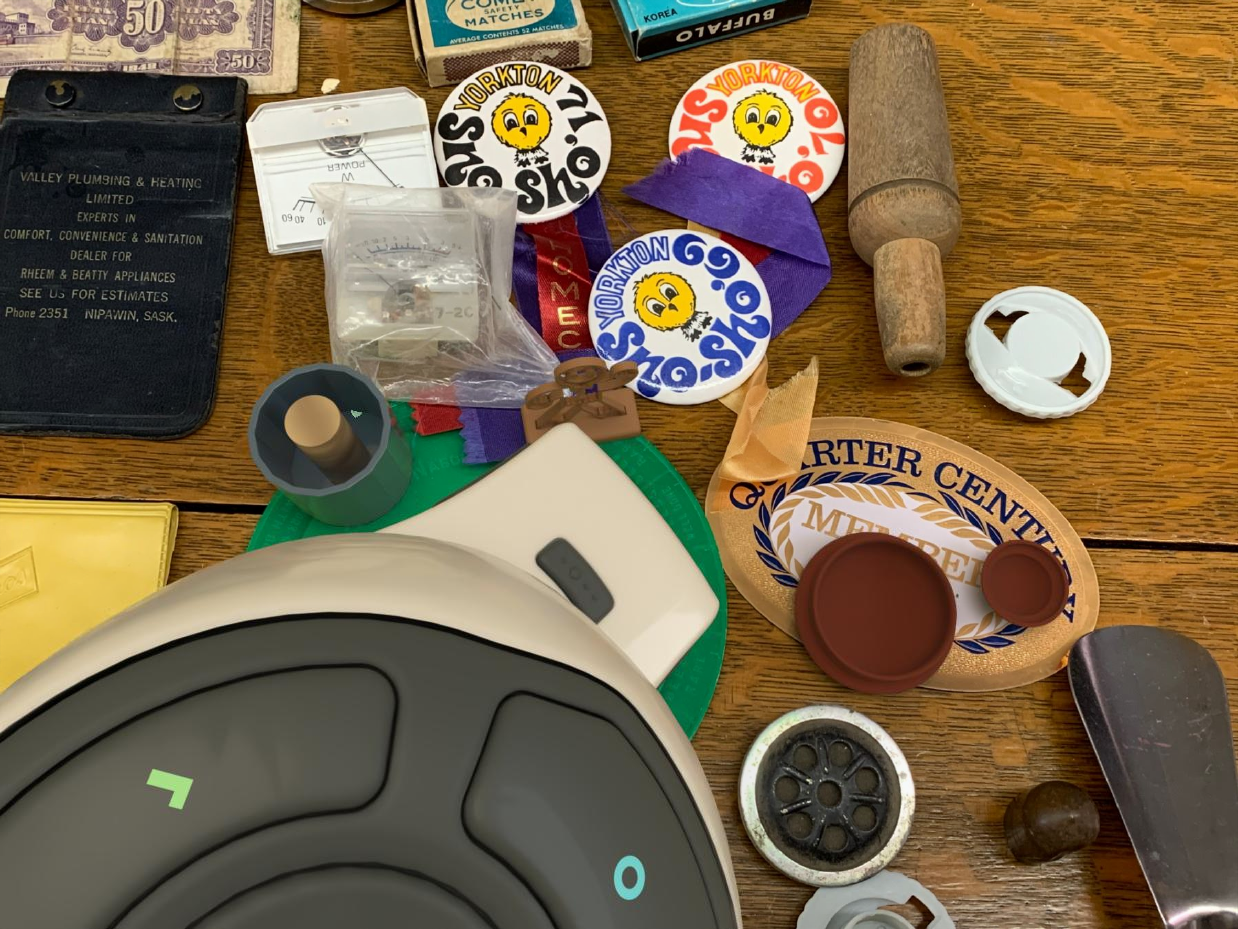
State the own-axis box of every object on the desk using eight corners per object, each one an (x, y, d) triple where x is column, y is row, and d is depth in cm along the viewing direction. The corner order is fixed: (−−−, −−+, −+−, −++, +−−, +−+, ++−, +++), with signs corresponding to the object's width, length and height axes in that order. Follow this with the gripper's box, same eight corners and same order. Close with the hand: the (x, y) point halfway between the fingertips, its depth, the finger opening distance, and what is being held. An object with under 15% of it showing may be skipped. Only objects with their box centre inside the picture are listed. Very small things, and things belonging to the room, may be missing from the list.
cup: (333, 551, 71) (298, 523, 62) (263, 456, 73) (220, 416, 64) (437, 476, 73) (417, 439, 64) (366, 385, 74) (338, 337, 66)
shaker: (341, 496, 71) (304, 457, 62) (314, 460, 72) (273, 416, 62) (381, 468, 72) (350, 424, 62) (354, 432, 73) (320, 384, 63)
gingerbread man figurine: (528, 455, 73) (517, 399, 62) (520, 408, 74) (508, 345, 63) (641, 436, 74) (652, 377, 63) (632, 389, 75) (640, 324, 64)
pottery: (773, 551, 72) (784, 539, 68) (1024, 508, 73) (1051, 493, 69) (809, 709, 69) (824, 707, 64) (1071, 660, 70) (1102, 654, 66)
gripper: (65, 1216, 19) (201, 960, 33) (769, 568, 25) (639, 575, 38) (-141, 984, 19) (81, 821, 33) (615, 378, 24) (539, 452, 38)
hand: (385, 685), depth 35 cm, fingers open, 8 cm apart
